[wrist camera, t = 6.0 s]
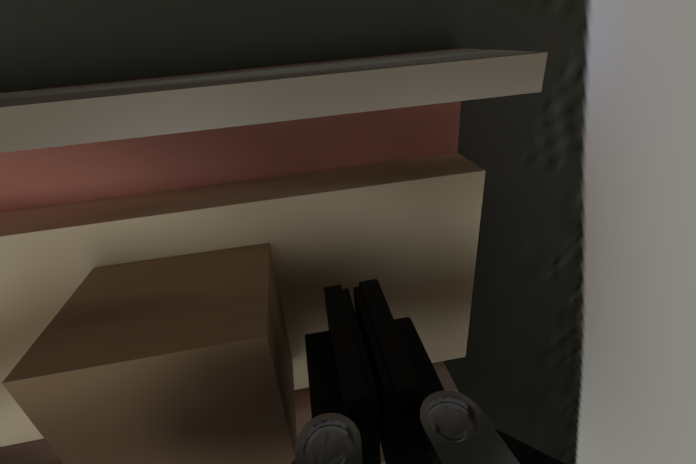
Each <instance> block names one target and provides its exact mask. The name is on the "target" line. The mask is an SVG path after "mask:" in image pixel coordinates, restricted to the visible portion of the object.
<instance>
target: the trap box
mask: <svg viewBox="0 0 696 464" xmlns="http://www.w3.org/2000/svg"><path fill="white" fill-rule="evenodd" d="M547 54H548V52H531V51H509V50H487V49H465V48H454V49H444V50H434V51H423V52H413V53H403V54H392V55H382V56H372V57H361V58H351V59H341V60H330V61H320V62H309V63H299V64H289V65H278V66H268V67H258V68H247V69H237V70H227V71H216V72H206V73H196V74H185V75H175V76H164V77H154V78H144V79H133V80H123V81H113V82H102V83H92V84H82V85H71V86H61V87H51V88H40V89H30V90H19V91H9V92H0V464H64V463H63V462H62V461H61V460H60V458H59V457H58V456H57V454H56V453H55V452H54V450H53V449H52V448H51V447H50V445H49V444H48V443H47V441H46V440H45V439H44V437H43V436H42V435H41V434H40V432H39V431H38V430H37V428H36V427H35V426H34V424H33V423H32V422H31V421H30V419H29V418H28V417H27V415H26V414H25V413H24V411H23V410H22V409H21V408H20V406H19V405H18V404H17V402H16V401H15V400H14V398H13V397H12V396H11V395H10V393H9V392H8V391H7V389H6V388H5V387H4V385H3V384H2V382H3V381H4V379H5V378H6V377H7V376H8V374H9V373H10V372H11V371H12V369H13V368H14V367H15V366H16V364H17V363H18V362H19V361H20V359H21V358H22V357H23V356H24V354H25V353H26V352H27V351H28V349H29V348H30V347H31V346H32V344H33V343H34V342H35V341H36V339H37V338H38V337H39V336H40V334H41V333H42V332H43V331H44V329H45V328H46V327H47V326H48V324H49V323H50V322H51V321H52V319H53V318H54V317H55V316H56V314H57V313H58V312H59V311H60V309H61V308H62V307H63V306H64V304H65V303H66V302H67V301H68V299H69V298H70V297H71V295H72V294H73V293H74V292H75V290H76V289H77V288H78V287H79V285H80V284H81V283H82V282H83V280H84V279H85V278H86V277H87V275H88V274H89V273H90V272H91V270H92V269H93V268H98V267H105V266H112V265H119V264H126V263H133V262H140V261H147V260H154V259H160V258H167V257H174V256H181V255H188V254H195V253H202V252H209V251H216V250H223V249H230V248H236V247H243V246H250V245H257V244H264V243H270V248H271V253H272V258H273V263H274V268H275V273H276V278H277V283H278V288H279V294H280V299H281V304H282V309H283V314H284V319H285V324H286V329H287V334H288V339H289V344H290V349H291V354H292V359H293V376H294V394H295V412H296V430H297V439H298V435H299V433H300V432H301V430H302V428H303V427H304V425H306V424H307V423H308V422H309V421H310V420H311V419H312V415H311V404H310V392H309V380H308V369H307V357H306V346H305V334H311V333H317V332H323V331H328V330H329V328H328V320H327V312H326V304H325V296H324V288H323V287H327V286H334V285H340V284H341V287H342V289H345V288H349V292H350V295H351V299H352V302H353V306H354V310H355V305H354V292H353V287H358V286H359V282H360V281H365V280H372V279H377V280H378V282H379V284H380V287H381V289H382V292H383V294H384V297H385V299H386V301H387V304H388V306H389V309H390V311H391V314H392V316H393V319H398V318H404V317H409V318H410V319H411V320H412V322H413V324H414V326H415V328H416V331H417V333H418V335H419V337H420V339H421V341H422V343H423V345H424V347H425V350H426V352H427V354H428V356H429V358H430V360H431V362H432V364H433V367H434V369H435V371H436V373H437V375H438V377H439V379H440V381H441V384H442V386H443V388H444V390H449V391H456V392H458V393H459V391H458V390H457V388H456V386H455V384H454V382H453V380H452V378H451V376H450V374H449V372H448V370H447V368H446V366H445V364H444V361H446V360H451V359H457V358H462V357H466V348H467V339H468V330H469V320H470V311H471V302H472V292H473V283H474V274H475V265H476V255H477V246H478V237H479V227H480V218H481V209H482V199H483V190H484V181H485V172H486V170H484V169H483V168H481V167H479V166H478V165H476V164H475V163H473V162H471V161H470V160H468V159H467V158H465V157H464V156H462V155H460V154H459V153H458V139H459V124H460V110H461V101H465V100H474V99H482V98H491V97H500V96H509V95H518V94H527V93H535V92H541V90H542V84H543V78H544V72H545V66H546V60H547ZM380 455H381V464H386V463H385V459H384V455H383V451H382V447H381V443H380Z"/></svg>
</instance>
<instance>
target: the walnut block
mask: <svg viewBox="0 0 696 464" xmlns="http://www.w3.org/2000/svg"><path fill="white" fill-rule="evenodd" d="M2 384H3V385H4V387H5V388H6V389H7V391H8V392H9V393H10V395H11V396H12V397H13V398H14V400H15V401H16V402H17V404H18V405H19V406H20V408H21V409H22V410H23V411H24V413H25V414H26V415H27V417H28V418H29V419H30V421H31V422H32V423H33V424H34V426H35V427H36V428H37V430H38V431H39V432H40V434H41V435H42V436H43V437H44V439H45V440H46V441H47V443H48V444H49V445H50V447H51V448H52V449H53V450H54V452H55V453H56V454H57V456H58V457H59V458H60V460H61V461H62V462H63V463H64V464H291V463H292V462H293V461H294V458H295V449H296V443H297V430H296V412H295V394H294V376H293V359H292V354H291V349H290V344H289V339H288V334H287V329H286V324H285V319H284V314H283V309H282V304H281V299H280V294H279V288H278V283H277V278H276V273H275V268H274V263H273V258H272V253H271V248H270V243H264V244H257V245H250V246H243V247H236V248H230V249H223V250H216V251H209V252H202V253H195V254H188V255H181V256H174V257H167V258H160V259H154V260H147V261H140V262H133V263H126V264H119V265H112V266H105V267H98V268H93V269H92V270H91V272H90V273H89V274H88V275H87V277H86V278H85V279H84V280H83V282H82V283H81V284H80V285H79V287H78V288H77V289H76V290H75V292H74V293H73V294H72V295H71V297H70V298H69V299H68V301H67V302H66V303H65V304H64V306H63V307H62V308H61V309H60V311H59V312H58V313H57V314H56V316H55V317H54V318H53V319H52V321H51V322H50V323H49V324H48V326H47V327H46V328H45V329H44V331H43V332H42V333H41V334H40V336H39V337H38V338H37V339H36V341H35V342H34V343H33V344H32V346H31V347H30V348H29V349H28V351H27V352H26V353H25V354H24V356H23V357H22V358H21V359H20V361H19V362H18V363H17V364H16V366H15V367H14V368H13V369H12V371H11V372H10V373H9V374H8V376H7V377H6V378H5V379H4V381H3V382H2Z"/></svg>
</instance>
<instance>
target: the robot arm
mask: <svg viewBox="0 0 696 464" xmlns="http://www.w3.org/2000/svg"><path fill="white" fill-rule="evenodd" d="M323 288H324V296H325V304H326V312H327V320H328V328H329V330H328V331H323V332H317V333H311V334H305V346H306V357H307V369H308V380H309V392H310V404H311V415H312V419H311V420H310V421H309V422H308V423H307V424H306V425H304V427H303V428H302V430H301V432H300V433H299V435H298V439H297V443H296V449H295V458H294V461H293V462H292V463H291V464H381V455H380V443H381V447H382V451H383V455H384V459H385V463H386V464H564V463H562V462H560V461H558V460H556V459H554V458H552V457H550V456H548V455H546V454H544V453H542V452H540V451H538V450H536V449H534V448H532V447H530V446H528V445H526V444H524V443H522V442H520V441H518V440H516V439H514V438H512V437H510V436H508V435H506V434H504V433H502V432H501V431H499V430H497V429H495V428H494V427H493V426H492V424H491V423H490V422H489V420H488V419H487V417H486V416H485V415H484V413H483V412H482V411H481V409H480V408H479V407H478V406H477V405H476V403H475V402H474V401H473V400H472V399H470V398H468V397H467V396H465V395H464V394H461V393H458V392H456V391H449V390H444V388H443V386H442V384H441V381H440V379H439V377H438V375H437V373H436V371H435V369H434V367H433V364H432V362H431V360H430V358H429V356H428V354H427V352H426V350H425V347H424V345H423V343H422V341H421V339H420V337H419V335H418V333H417V331H416V328H415V326H414V324H413V322H412V320H411V319H410V318H409V317H404V318H398V319H393V316H392V314H391V311H390V309H389V306H388V304H387V301H386V299H385V297H384V294H383V292H382V289H381V287H380V284H379V282H378V280H377V279H372V280H365V281H360V282H359V286H358V287H353V292H354V305H355V310H354V306H353V302H352V299H351V295H350V292H349V288H345V289H342V287H341V284H340V285H334V286H327V287H323Z"/></svg>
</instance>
